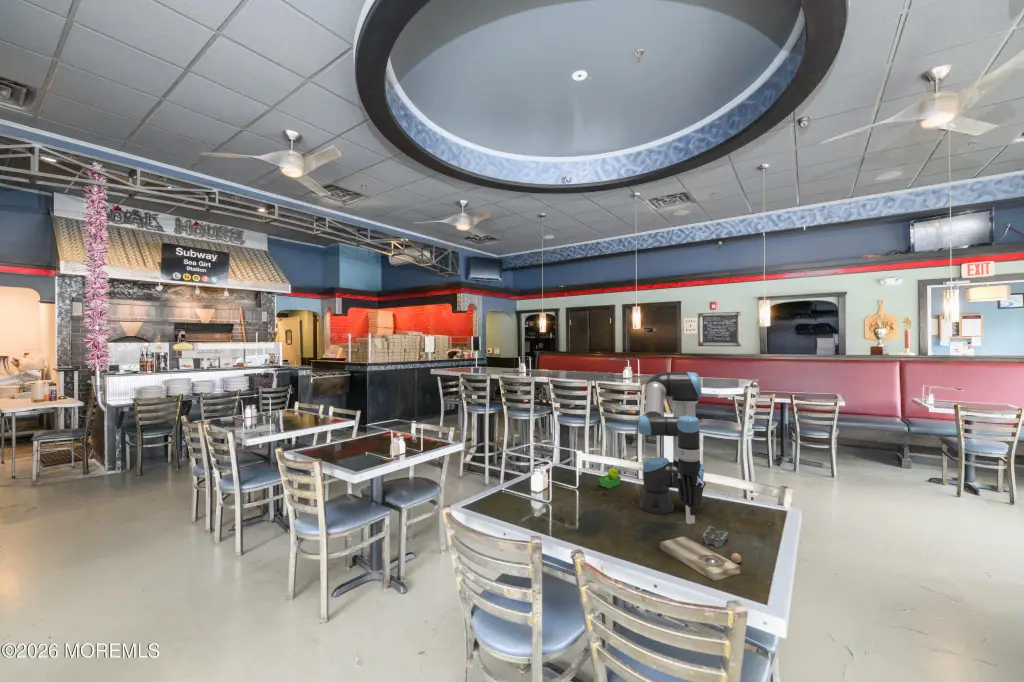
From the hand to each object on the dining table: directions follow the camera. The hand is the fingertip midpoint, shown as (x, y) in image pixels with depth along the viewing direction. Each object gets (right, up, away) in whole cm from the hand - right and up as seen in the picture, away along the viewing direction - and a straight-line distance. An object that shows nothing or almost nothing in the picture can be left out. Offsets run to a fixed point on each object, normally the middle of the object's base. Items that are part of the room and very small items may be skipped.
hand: (690, 522), depth 158 cm
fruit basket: (-11, -14, +78) cm, 80 cm away
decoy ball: (+14, -10, -6) cm, 18 cm away
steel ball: (+4, -10, -9) cm, 15 cm away
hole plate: (+1, -12, -3) cm, 13 cm away
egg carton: (+15, -13, +12) cm, 23 cm away
